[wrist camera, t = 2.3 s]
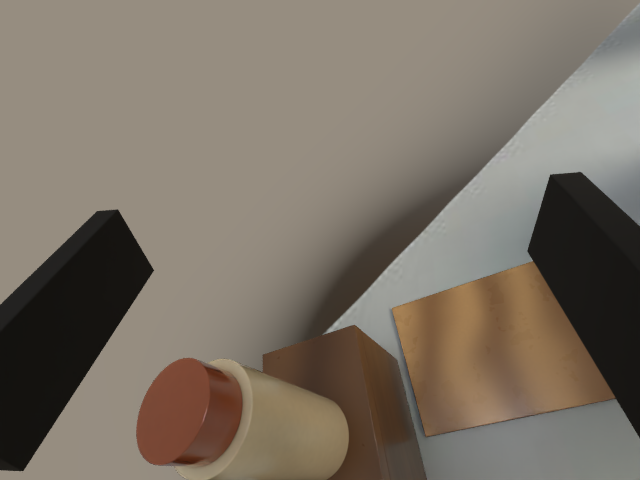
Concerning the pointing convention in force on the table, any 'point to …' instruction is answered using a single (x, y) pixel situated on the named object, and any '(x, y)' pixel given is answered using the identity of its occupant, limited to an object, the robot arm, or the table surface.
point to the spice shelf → (357, 401)
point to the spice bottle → (239, 425)
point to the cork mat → (494, 353)
